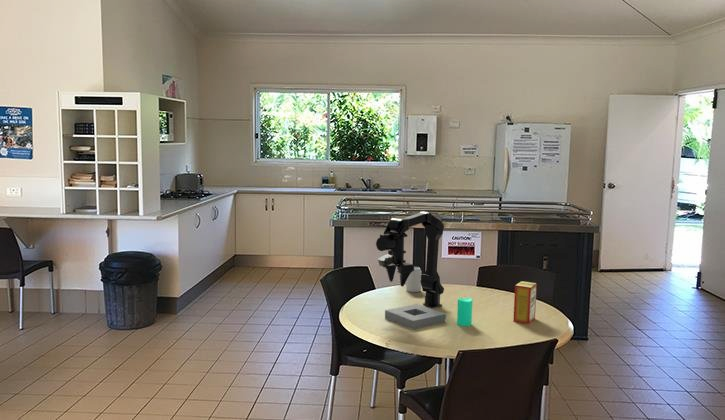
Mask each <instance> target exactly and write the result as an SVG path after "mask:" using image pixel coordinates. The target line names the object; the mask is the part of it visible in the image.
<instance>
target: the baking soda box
mask: <svg viewBox="0 0 725 420" xmlns="http://www.w3.org/2000/svg"><path fill="white" fill-rule="evenodd" d="M537 284H538V283H537V282H530V281H522V280H521V281H520V282H518V283H517V284H515V285H514V300H513V303H514V304H513V322H514V323H520V324H524V325H525V324H526V325H530V324H531V323H532V322H533V321H534V320H535V319H536V310H537V309H536V306H537V290H538V289H537Z"/></svg>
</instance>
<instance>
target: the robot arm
mask: <svg viewBox="0 0 725 420" xmlns="http://www.w3.org/2000/svg"><path fill="white" fill-rule="evenodd" d="M419 224H421V225H422V227H423V228H424V234H425V236H426V238H427V246H426V262H425V263H426V264H425V265H426V266H425V271H424V272H423V273H421V281H420V283H421V290H422V292H425V296H424V303H422V306H425V307H428V308H431V309H433V308H438V307H442V306H443V304H441V303H440V302H441V295H443V294H444V292H445V288H444V287H443V285H442V284H441V277H440V275H439V272H438V261H439V257H438V255H439V243H440V239H441V237H443V234H444V227H445V225H444V223H443V221H442V220H440V219H439V218H438V217H435V216H434V215H433V214H432V213H431V212H428V211H420V212H418V213H415V214H412V215H409V216H406V217H393V218H391V219H389V221H388V224H387V226H386V227H385V229H384V231H383V234H379V237H378V238H377V240H376V241H375V247H376V249H377V250H378V251H380V252H384V251H387V254H384V255H382V256H380V257H378V258H377V263H378V264H379V266H380V267H382V268H384V269H385V270H386V272H387V276H388V279H389V282H391V283H392V282H393V281H394V278H395V272H397V273H398V274H399V282H400V284H399V285H400V287H404V286H405V285H406V280H407V278H408V277H409V275H410V273H412V271H414V267H415V266H414V265H413V264H412V263H410V262H406V261H407V260H406V259H405V254H407V253H406V252H407V251H406V250H405V238H407V237H408V234H407V233H406V232H408V231H409V229H410V228H411V227H414V226H417V225H419ZM396 270H397V271H396Z"/></svg>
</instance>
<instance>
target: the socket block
mask: <svg viewBox="0 0 725 420" xmlns="http://www.w3.org/2000/svg"><path fill="white" fill-rule="evenodd" d="M446 315H447V314H446V313H444V312H441V311H438V310H436V309H433V308H431V307H428V306H425V305H421V304H418V303H416V304H410V305H404V306H401V307H396V308H395V307H394V308H389V309H384V319H386V320H389V321H390V322H391V321H392V322H393V323H395V324H398V325H401V326H403V327H406V328H408V329H411V330H416V329H420V328H425V327H430V326H434V325H439V324H443V323H446V318H447V317H446Z"/></svg>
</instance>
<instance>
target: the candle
mask: <svg viewBox="0 0 725 420" xmlns="http://www.w3.org/2000/svg"><path fill="white" fill-rule="evenodd" d="M472 316H473V299H472V298H471V297H463V298H461V297H458V299H457V313H456V325H458V326H459V327H460V326H461V327H471V326H472V324H473V323H472V319H473V317H472Z"/></svg>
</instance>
